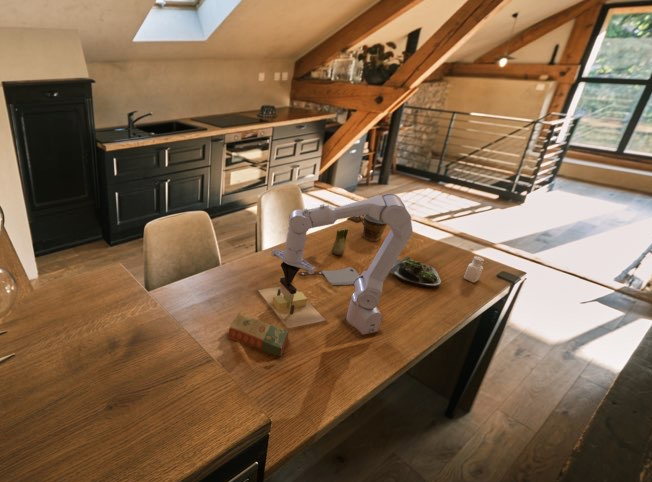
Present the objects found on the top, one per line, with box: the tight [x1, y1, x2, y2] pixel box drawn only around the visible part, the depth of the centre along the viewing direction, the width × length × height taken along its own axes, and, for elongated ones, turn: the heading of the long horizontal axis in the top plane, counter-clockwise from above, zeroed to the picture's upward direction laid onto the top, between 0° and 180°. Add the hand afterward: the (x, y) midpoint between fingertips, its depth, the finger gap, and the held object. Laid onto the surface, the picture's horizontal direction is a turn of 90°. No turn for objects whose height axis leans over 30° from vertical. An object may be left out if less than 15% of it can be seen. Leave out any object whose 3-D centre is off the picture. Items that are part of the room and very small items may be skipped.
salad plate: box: [389, 255, 442, 289], centre depth 151 cm, size 19×18×5 cm
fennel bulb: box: [330, 228, 349, 256], centre depth 161 cm, size 6×5×12 cm
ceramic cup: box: [358, 215, 388, 242], centre depth 177 cm, size 13×10×10 cm
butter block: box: [284, 291, 308, 309], centre depth 130 cm, size 4×7×3 cm, turn 107°
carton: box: [227, 312, 289, 358], centre depth 115 cm, size 8×16×4 cm, turn 61°
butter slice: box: [272, 295, 287, 311], centre depth 128 cm, size 4×3×3 cm
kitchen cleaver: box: [298, 266, 361, 286], centre depth 147 cm, size 24×1×10 cm
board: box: [257, 285, 327, 329], centre depth 129 cm, size 20×14×4 cm
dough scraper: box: [279, 276, 298, 304], centre depth 127 cm, size 7×2×6 cm, turn 17°
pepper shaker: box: [463, 255, 485, 284], centre depth 146 cm, size 4×4×10 cm
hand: (288, 282), depth 126 cm, fingers closed
